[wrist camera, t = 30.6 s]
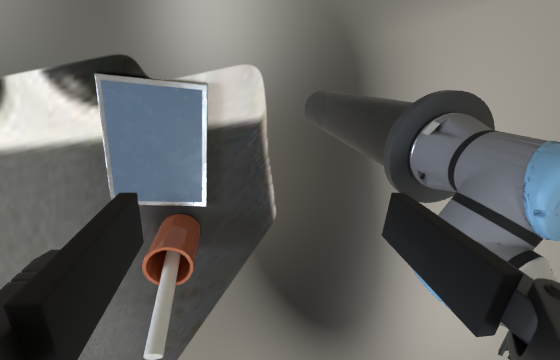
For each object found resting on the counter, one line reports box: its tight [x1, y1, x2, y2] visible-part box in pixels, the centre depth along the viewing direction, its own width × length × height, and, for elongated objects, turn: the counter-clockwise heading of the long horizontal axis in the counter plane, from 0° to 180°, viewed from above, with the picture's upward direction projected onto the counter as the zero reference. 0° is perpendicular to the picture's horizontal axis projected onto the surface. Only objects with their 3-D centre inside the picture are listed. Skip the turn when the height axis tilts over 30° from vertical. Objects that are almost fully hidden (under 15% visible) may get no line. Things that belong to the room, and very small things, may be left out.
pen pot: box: [142, 214, 201, 286], centre depth 43 cm, size 7×7×10 cm
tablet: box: [95, 73, 208, 206], centre depth 41 cm, size 15×20×1 cm
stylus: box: [144, 250, 181, 360], centre depth 39 cm, size 2×2×20 cm
